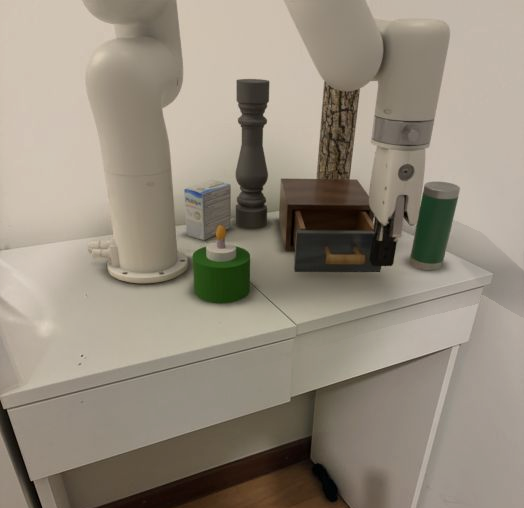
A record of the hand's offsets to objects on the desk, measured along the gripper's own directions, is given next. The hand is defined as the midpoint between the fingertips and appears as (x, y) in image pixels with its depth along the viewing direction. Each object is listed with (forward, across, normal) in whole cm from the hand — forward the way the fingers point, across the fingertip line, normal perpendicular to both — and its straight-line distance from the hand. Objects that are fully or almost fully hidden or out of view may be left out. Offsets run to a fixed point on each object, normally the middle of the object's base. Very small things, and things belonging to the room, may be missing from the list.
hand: (380, 263), depth 77 cm
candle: (+4, -1, +24) cm, 24 cm away
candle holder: (+4, +28, +19) cm, 34 cm away
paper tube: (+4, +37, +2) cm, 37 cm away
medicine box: (+4, +23, +27) cm, 35 cm away
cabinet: (+4, +22, +6) cm, 23 cm away
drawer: (+3, +8, +6) cm, 11 cm away
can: (+4, +9, -10) cm, 14 cm away
